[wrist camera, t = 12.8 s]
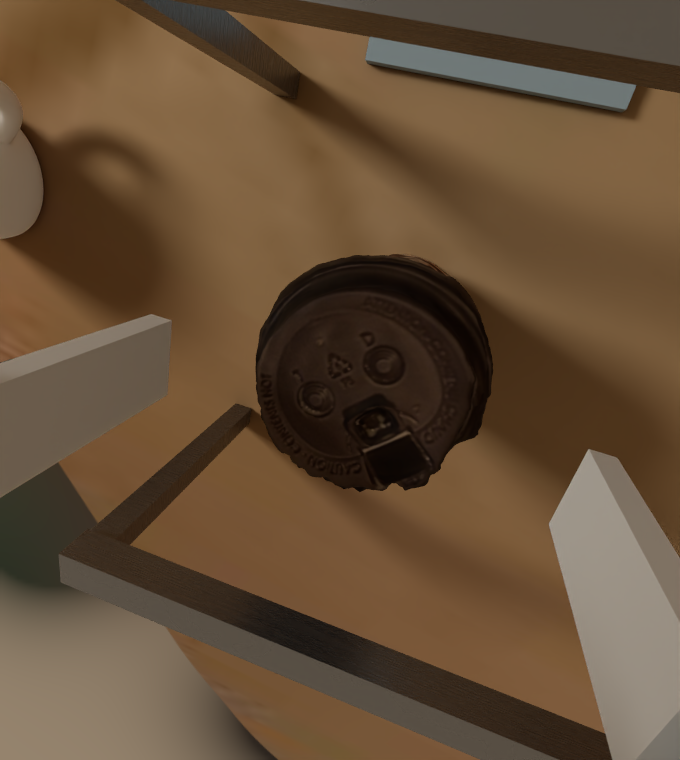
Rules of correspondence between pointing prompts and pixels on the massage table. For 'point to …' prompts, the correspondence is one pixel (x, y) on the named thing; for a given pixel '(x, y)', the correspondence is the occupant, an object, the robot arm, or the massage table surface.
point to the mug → (17, 170)
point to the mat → (501, 74)
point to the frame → (127, 521)
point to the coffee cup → (373, 370)
